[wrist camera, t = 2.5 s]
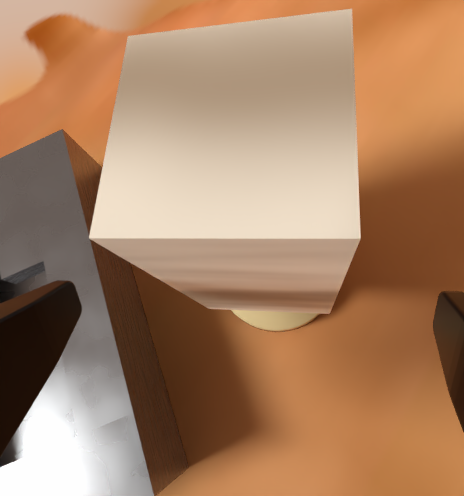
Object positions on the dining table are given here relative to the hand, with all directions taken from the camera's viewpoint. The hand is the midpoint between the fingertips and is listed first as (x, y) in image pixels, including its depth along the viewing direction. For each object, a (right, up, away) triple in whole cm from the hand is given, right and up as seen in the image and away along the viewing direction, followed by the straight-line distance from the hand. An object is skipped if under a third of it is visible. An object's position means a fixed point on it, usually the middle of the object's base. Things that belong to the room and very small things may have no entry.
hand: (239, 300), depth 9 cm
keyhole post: (+2, 0, +10) cm, 11 cm away
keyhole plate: (-11, -4, +12) cm, 17 cm away
